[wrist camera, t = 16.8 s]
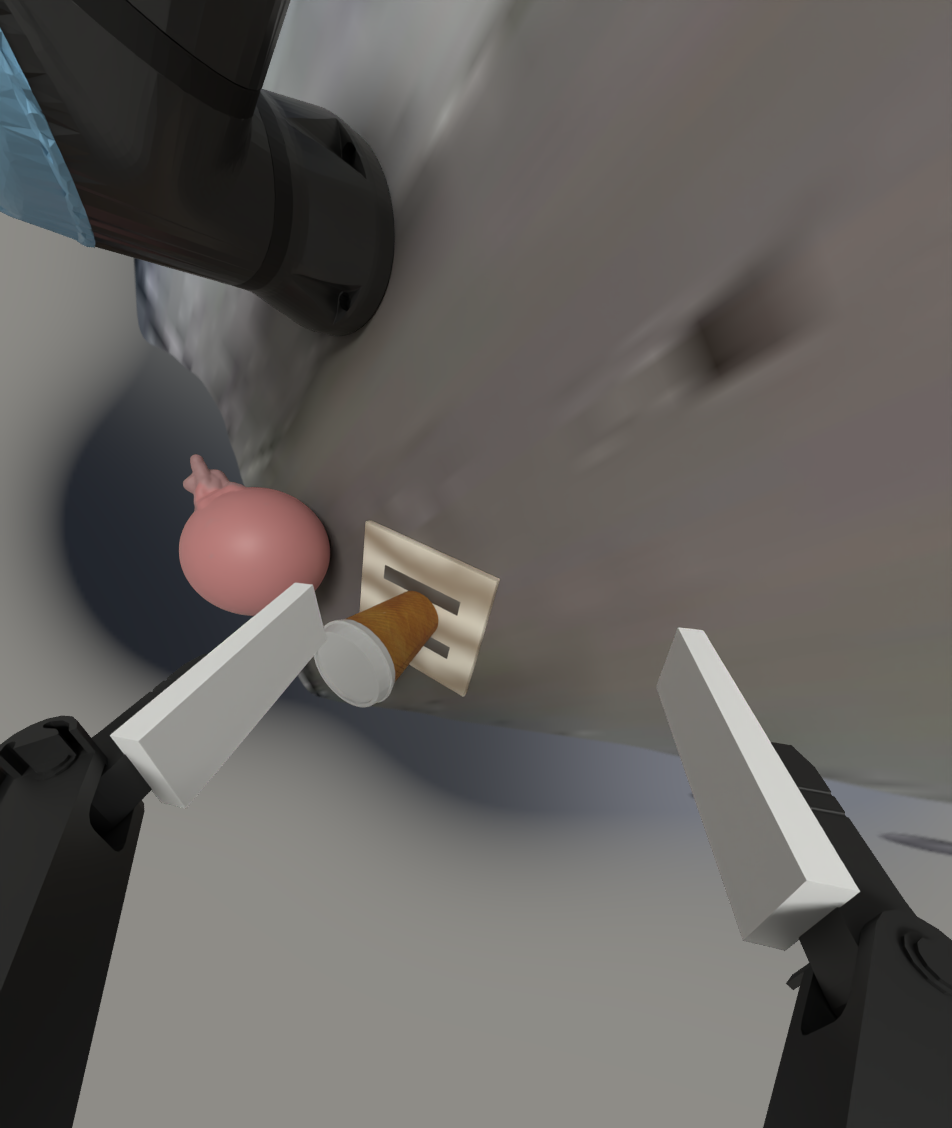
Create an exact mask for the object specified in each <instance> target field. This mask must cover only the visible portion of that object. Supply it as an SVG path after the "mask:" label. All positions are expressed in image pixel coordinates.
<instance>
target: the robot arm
mask: <svg viewBox="0 0 952 1128" xmlns="http://www.w3.org/2000/svg"><path fill="white" fill-rule="evenodd" d="M289 3H290V0H0V212H2V213H4V214H6V215H8V216H10V217H13V218H16V219H18V220H22V221H24V222H27V223H30V224H33V225H36V226H39V227H41V228H44V229H47V230H50V231H53V232H55V233H58V234H61V235H64V236H66V237H69V238H72V239H75V240H77V241H78V242H79V243H80V244H82V245H84V246H87V247H98V248H102V249H105V250H109V251H112V252H116V253H119V254H123V255H126V256H130V257H133V258H137V259H140V260H144V261H147V262H151V263H155V264H158V265H162V266H165V267H169V268H172V269H176V270H179V271H183V272H186V273H190V274H193V275H197V276H200V277H204V278H207V279H211V280H214V281H218V282H221V283H225V284H228V285H232V286H235V287H239V288H242V289H245V290H248V291H251V292H252V293H254V294H255V295H257V296H258V297H260V298H261V299H263V300H264V301H266V302H267V303H268V304H270V305H271V306H273V307H274V308H276V309H277V310H279V311H280V312H282V313H283V314H285V315H286V316H287V317H289V318H290V319H292V320H293V321H295V322H296V323H298V324H299V325H301V326H303V327H305V328H307V329H309V330H312V331H316V332H320V333H324V334H328V335H333V336H342V335H347V334H350V333H352V332H354V331H356V330H358V329H359V328H360V327H362V326H363V325H364V324H365V323H366V322H367V321H368V320H369V319H370V317H371V316H372V315H373V313H374V312H375V310H376V309H377V307H378V305H379V303H380V301H381V299H382V297H383V295H384V292H385V289H386V287H387V283H388V280H389V276H390V272H391V267H392V260H393V252H394V218H393V209H392V203H391V198H390V193H389V189H388V186H387V182H386V179H385V176H384V173H383V171H382V168H381V166H380V164H379V162H378V160H377V158H376V156H375V155H374V153H373V151H372V150H371V148H370V147H369V145H368V144H367V143H366V142H365V141H364V140H363V138H362V137H361V136H360V135H358V134H357V133H356V132H355V131H354V130H353V129H352V128H351V127H350V126H348V125H347V124H346V123H345V122H344V121H343V120H342V119H340V118H339V117H338V116H337V115H335V114H334V113H332V112H330V111H328V110H327V109H325V108H322V107H319V106H316V105H313V104H310V103H306V102H303V101H300V100H297V99H293V98H290V97H287V96H284V95H280V94H277V93H274V92H271V91H267V90H264V89H262V86H263V83H264V80H265V77H266V74H267V71H268V68H269V64H270V61H271V58H272V55H273V52H274V49H275V46H276V43H277V40H278V37H279V34H280V31H281V28H282V25H283V22H284V18H285V15H286V12H287V9H288V6H289ZM326 640H327V639H326V635H325V631H324V627H323V623H322V619H321V615H320V611H319V607H318V603H317V599H316V595H315V591H314V587H313V585H311V584H303V583H294V584H293V585H291V586H290V587H289V588H288V589H287V590H285V591H284V592H283V593H282V594H280V595H279V596H278V597H277V598H276V599H274V600H273V601H272V602H271V603H270V604H268V605H267V606H266V607H265V608H264V609H262V610H261V611H260V612H259V613H257V614H256V615H255V616H254V617H253V618H251V619H250V620H249V621H248V622H247V623H245V624H244V625H243V626H242V627H240V628H239V629H238V630H237V631H236V632H234V633H233V634H232V635H231V636H230V637H229V638H227V639H226V640H225V641H223V642H222V643H221V644H220V645H219V646H217V647H216V648H215V649H214V650H213V651H211V652H210V653H209V654H203V655H201V656H199V657H197V658H195V659H193V660H192V661H190V662H188V663H186V664H184V665H183V666H182V667H180V668H179V669H178V670H177V671H175V672H174V673H173V674H171V675H170V676H169V677H168V678H167V680H166V681H163V682H161V683H160V684H159V685H158V686H156V687H155V688H154V689H153V692H149V693H148V694H147V695H145V696H144V697H143V698H141V699H140V700H139V701H138V702H136V703H135V704H134V705H133V706H131V708H129V709H128V710H126V711H125V712H124V713H123V714H121V715H120V716H119V717H118V718H116V719H115V720H114V721H113V722H111V723H110V724H109V725H108V726H107V727H105V728H104V729H103V730H101V731H100V732H99V733H98V734H96V735H95V736H94V737H92V738H91V737H90V736H89V735H88V733H87V732H86V731H85V730H84V728H83V727H82V726H81V725H80V724H79V722H78V721H77V720H76V719H74V717H72V716H59V717H53V718H49V719H46V720H43V721H40V722H38V723H35V724H33V725H30V726H29V727H27V728H25V729H23V730H21V731H19V732H17V733H16V734H14V735H13V736H11V737H10V738H9V739H7V740H6V741H5V742H3V743H2V744H0V1128H72V1126H73V1121H74V1117H75V1112H76V1108H77V1103H78V1099H79V1095H80V1091H81V1086H82V1082H83V1077H84V1073H85V1069H86V1064H87V1060H88V1055H89V1051H90V1047H91V1042H92V1038H93V1033H94V1029H95V1025H96V1020H97V1016H98V1012H99V1007H100V1003H101V999H102V994H103V990H104V985H105V981H106V977H107V972H108V968H109V963H110V959H111V955H112V950H113V946H114V942H115V937H116V933H117V928H118V924H119V919H120V915H121V910H122V906H123V902H124V898H125V893H126V889H127V885H128V880H129V876H130V871H131V867H132V863H133V858H134V854H135V850H136V845H137V841H138V836H139V832H140V828H141V823H142V819H143V815H144V803H143V802H142V799H143V798H144V797H145V796H146V795H147V794H148V793H149V792H150V791H151V790H152V791H153V793H154V794H155V795H156V797H157V798H158V799H159V801H160V802H161V803H164V804H169V805H173V806H177V807H181V808H185V809H186V808H187V807H188V806H189V805H190V803H191V802H192V801H193V800H194V799H195V798H196V796H197V795H198V794H199V793H200V792H201V790H202V789H203V788H204V787H205V786H206V784H207V783H208V782H209V781H210V779H211V778H212V777H213V776H214V775H215V774H216V772H217V771H218V770H219V769H220V767H221V766H222V765H223V764H224V763H225V761H226V760H227V759H228V758H229V757H230V756H231V754H232V753H233V752H234V751H235V749H236V748H237V747H238V746H239V745H240V744H241V742H242V741H243V740H244V739H245V737H246V736H247V735H248V734H249V733H250V731H251V730H252V729H253V728H254V727H255V725H256V724H257V723H258V722H259V721H260V719H261V718H262V717H263V716H264V715H265V713H266V712H267V711H268V710H269V709H270V707H271V706H272V705H273V704H274V703H275V701H276V700H277V699H278V698H279V697H280V695H281V694H282V693H283V692H284V691H285V689H286V688H287V687H288V686H289V684H290V683H291V682H292V681H293V680H294V679H295V677H296V676H297V675H298V674H299V673H300V671H301V670H302V669H303V668H304V667H305V665H306V664H307V663H308V662H309V661H310V659H311V658H312V657H313V656H314V655H315V653H316V652H317V651H318V650H319V649H320V647H321V646H322V645H323V644H324V643H325V641H326ZM656 688H657V691H658V694H659V697H660V700H661V703H662V706H663V708H664V711H665V714H666V717H667V720H668V723H669V726H670V729H671V732H672V735H673V738H674V741H675V744H676V746H677V749H678V752H679V755H680V758H681V761H682V764H683V767H684V770H685V773H686V776H687V778H688V782H689V784H690V787H691V790H692V793H693V796H694V799H695V802H696V805H697V808H698V811H699V813H700V816H701V820H702V822H703V825H704V828H705V831H706V834H707V837H708V840H709V843H710V846H711V848H712V852H713V855H714V857H715V860H716V863H717V866H718V869H719V872H720V875H721V878H722V881H723V884H724V887H725V889H726V892H727V895H728V898H729V901H730V904H731V907H732V910H733V913H734V916H735V919H736V922H737V925H738V928H739V930H740V933H741V936H742V939H743V941H747V942H751V943H755V944H759V945H763V946H768V947H772V948H776V949H780V950H784V951H785V950H787V949H788V948H789V947H790V946H792V945H793V944H794V943H795V942H797V941H798V940H800V942H801V945H802V947H803V949H804V951H805V954H806V956H807V958H808V960H809V963H808V964H807V965H806V966H804V967H803V968H801V969H800V970H798V971H797V972H796V973H794V974H793V975H792V976H791V977H790V979H789V980H788V981H787V983H786V984H787V985H788V986H789V987H791V989H793V990H794V989H795V988H797V987H799V986H800V988H799V992H798V996H797V1000H796V1004H795V1007H794V1011H793V1016H792V1019H791V1023H790V1027H789V1030H788V1034H787V1038H786V1042H785V1046H784V1050H783V1053H782V1058H781V1061H780V1065H779V1069H778V1073H777V1077H776V1080H775V1084H774V1088H773V1092H772V1096H771V1100H770V1104H769V1107H768V1111H767V1115H766V1119H765V1123H764V1127H763V1128H952V940H951V939H949V938H948V937H947V936H946V935H944V934H943V933H942V932H941V931H939V929H937V928H935V927H934V926H932V925H930V924H929V923H927V922H925V921H924V920H922V919H920V918H918V917H917V916H916V915H915V913H914V912H913V911H912V909H911V908H910V907H909V906H908V904H907V903H906V902H905V900H904V899H903V897H902V896H901V894H900V893H899V891H898V890H897V888H896V887H895V886H894V884H893V883H892V881H891V880H890V878H889V877H888V875H887V874H886V872H885V871H884V869H883V868H882V866H881V865H880V863H879V862H878V860H877V859H876V858H875V856H874V854H873V853H872V851H871V850H870V848H869V847H868V846H867V844H866V843H865V841H864V840H863V838H862V837H861V835H860V834H859V832H858V831H857V829H856V828H855V826H854V825H853V823H852V822H851V820H850V819H849V818H848V817H846V816H845V811H844V810H843V809H842V807H841V806H840V804H839V803H838V801H837V800H836V798H835V797H834V796H832V795H831V791H830V789H829V788H828V786H827V785H826V783H825V782H824V780H823V779H822V777H821V776H820V774H819V773H818V771H817V770H816V768H815V767H814V766H813V765H812V764H811V763H810V762H809V761H808V760H806V759H805V758H804V757H803V756H802V755H801V754H800V753H799V752H798V751H797V750H796V749H795V748H794V747H793V746H792V745H786V744H779V743H773V742H770V741H769V739H768V737H767V736H766V734H765V732H764V731H763V729H762V727H761V726H760V724H759V722H758V721H757V719H756V717H755V716H754V714H753V712H752V711H751V709H750V707H749V706H748V704H747V702H746V701H745V699H744V697H743V696H742V694H741V692H740V691H739V689H738V687H737V686H736V684H735V682H734V681H733V679H732V677H731V676H730V674H729V672H728V671H727V669H726V667H725V666H724V664H723V662H722V661H721V659H720V657H719V656H718V654H717V652H716V651H715V649H714V647H713V646H712V644H711V642H710V641H709V639H708V637H707V636H706V634H705V632H704V631H703V630H696V629H688V628H679V627H678V629H677V631H676V634H675V637H674V640H673V642H672V645H671V648H670V650H669V653H668V656H667V659H666V661H665V664H664V667H663V669H662V672H661V675H660V678H659V680H658V683H657V686H656Z"/></svg>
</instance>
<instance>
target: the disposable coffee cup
mask: <svg viewBox="0 0 952 1128" xmlns="http://www.w3.org/2000/svg"><path fill="white" fill-rule="evenodd" d="M437 627H438V614H437V611H436V609H435V607H434V605H433V604H432V602H431V601H430V600H429V599H428V598H427V597H425V596H424V595H422V594H421V593H419V592H416V591H406V592H404V593H402V594H400V595H397V596H395V597H393V598H391V599H389V600H386V601H384V602H382V603H380V604H377V605H375V606H373V607H371V608H369V609H366V610H364V611H362V612H360V613H358V614H355V615H353V616H351V617H349V618H346V619H342V620H335V621H332V622H330V623H328V624H326V625H325V626H324V631H325V635H326V639H327V640H326V641H325V643H324V644H323V645H322V646H321V647H320V649H319V650H318V651H317V652H316V653H315V655H314V659H315V663H316V666H317V668H318V670H319V672H320V674H321V676H322V678H323V679H324V681H325V682H326V684H327V685H328V686H329V687H330V688H331V690H332V691H334V692H335V693H336V694H337V695H338V696H339V697H340V698H341V699H343V700H344V701H346V702H348V703H350V704H352V705H354V706H357V707H369V706H371V705H373V704H375V703H379V702H382V701H384V700H385V699H386V698H387V697H388V696H389V695H390V693H391V691H392V688H393V686H394V683H395V681H396V680H397V679H398V677H400V675H401V673H403V671H404V669H406V668H407V666H408V665H409V664H410V662H411V661H412V660H413V658H414V657H415V656H416V655H417V654H418V652H419V651H420V650H421V648H422V647H423V646H424V644H425V643H426V642H427V641H428V640H429V638H430V637H431V636H432V635H433V633H434V632H435V631H436V629H437Z"/></svg>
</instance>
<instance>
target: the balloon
mask: <svg viewBox="0 0 952 1128" xmlns="http://www.w3.org/2000/svg"><path fill="white" fill-rule="evenodd" d="M190 461H191V468H192V470H193V473H192V474H191V476H189V477H188V478H187V479H185V480H184V482H183V486H184V488H185V489H186V490H188V491H189V492H191V493H193V494H194V505H195V510H194V511H195V512H194V513H193V514H192V515H191V517H190V518H189V519H188V521H187V523H186V524H185V526H184V529H183V531H182V534H181V538H180V543H179V557H180V563H181V567H182V570H183V572H184V574H185V576H186V578H187V580H188V581H189V583H190V584H191V586H192V587H193V588H194V589H195V590H196V592H197V593H199V594H200V595H201V596H202V597H203V598H204V599H206V600H207V601H208V602H210V603H212V604H213V605H215V606H217V607H219V608H221V609H224V610H226V611H229V612H233V613H237V614H242V615H253V616H255V615H256V614H257V613H259V612H260V611H261V610H262V609H264V608H265V607H266V606H267V605H268V604H270V603H271V602H272V601H273V600H274V599H276V598H277V597H278V596H279V595H280V594H282V593H283V592H284V591H285V590H287V589H288V588H289V587H290V586H291V585H293V584H294V583H303V584H311V585H313V587H314V591H315V590H316V589H317V588H318V587H319V585H320V584H321V582H322V581H323V579H324V577H325V575H326V572H327V569H328V566H329V561H330V545H329V540H328V536H327V533H326V531H325V528H324V526H323V524H322V523H321V521H320V520H319V518H318V517H317V516H316V515H315V513H314V512H313V511H312V510H311V509H310V508H309V507H307V506H306V505H305V504H304V503H302V502H301V501H299V500H298V499H296V498H294V497H292V496H290V495H288V494H286V493H283V492H280V491H277V490H273V489H268V488H259V487H245V486H243V485H241V484H237V483H235V482H230V481H229V480H228V479H227V477H226V476H225V474H224V473H223V472H222V471H219V470H215V469H214V470H209V469H208V468H207V465H206V464H205V462H204V460H203V458H202V457H201V456H200V455H197V454H194V455H192V456H191V459H190Z"/></svg>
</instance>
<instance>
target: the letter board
mask: <svg viewBox="0 0 952 1128" xmlns="http://www.w3.org/2000/svg"><path fill="white" fill-rule="evenodd" d="M499 581H500V579H499V578H496V577H494V576H492V575H490V574H488V573H485V572H483V571H481V570H479V569H477V568H474V567H472V566H470V565H468V564H466V563H463V562H461V561H459V560H457V559H455V558H452V557H450V556H448V555H446V554H444V553H441V552H439V551H437V550H435V549H433V548H430V547H428V546H426V545H424V544H422V543H419V542H417V541H415V540H413V539H411V538H408V537H406V536H404V535H402V534H400V533H397V532H395V531H393V530H391V529H389V528H386V527H384V526H382V525H380V524H378V523H375V522H373V521H371V520H369V521H367V522H366V525H365V540H364V555H363V570H362V585H361V600H360V612H362V611H364V610H366V609H369V608H371V607H373V606H375V605H377V604H380V603H382V602H384V601H386V600H389V599H391V598H393V597H395V596H397V595H400V594H402V593H404V592H406V591H416V592H419V593H421V594H422V595H424V596H425V597H427V598H428V599H429V600H430V601H431V602H432V604H433V605H434V607H435V609H436V611H437V614H438V627H437V629H436V631H435V632H434V633H433V635H432V636H431V637H430V638H429V640H428V641H427V642H426V643H425V644H424V646H423V647H422V648H421V650H420V651H419V652H418V654H417V655H416V656H415V657H414V658H413V660H412V661H411V662H410V664H409V665H411V666H412V667H414V668H416V669H417V670H419V671H421V672H423V673H424V674H426V675H428V676H429V677H431V678H433V679H434V680H436V681H438V682H439V683H441V684H443V685H444V686H446V687H448V688H449V689H451V690H453V691H454V692H456V693H458V694H459V695H461V696H463V697H464V696H465V695H466V693H467V690H468V687H469V683H470V680H471V677H472V673H473V670H474V666H475V663H476V660H477V656H478V653H479V649H480V646H481V643H482V639H483V636H484V632H485V629H486V625H487V622H488V619H489V615H490V612H491V608H492V605H493V602H494V598H495V595H496V591H497V588H498V585H499Z"/></svg>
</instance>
